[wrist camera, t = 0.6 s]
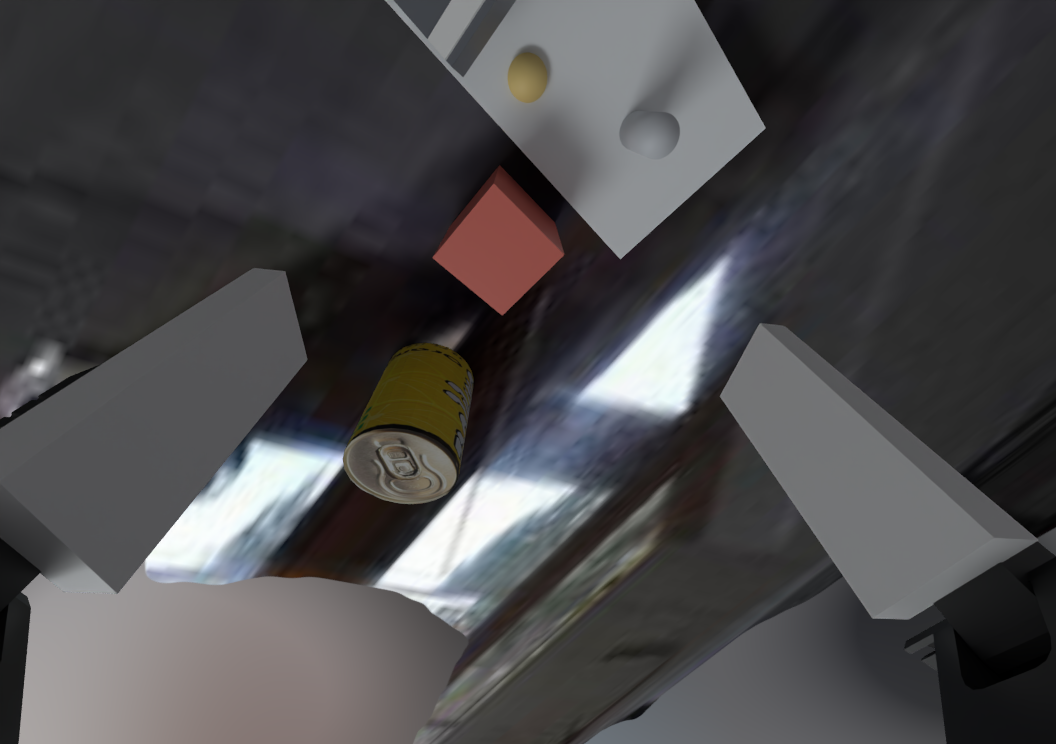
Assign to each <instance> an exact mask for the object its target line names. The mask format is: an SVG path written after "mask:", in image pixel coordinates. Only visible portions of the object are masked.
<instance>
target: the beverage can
mask: <svg viewBox="0 0 1056 744" xmlns="http://www.w3.org/2000/svg"><path fill="white" fill-rule="evenodd" d="M473 381H474V379H473V375H472V371H471V369H470V367H469V366H468V364H467V362H466V361H465V360H464V359H463V358H462V357H461V356H460V355H459V354H457V353H456V352H454V351H452V350H451V349H449V348H447V347H444V346H441V345H438V344H431V343H418V344H412V345H409V346H406V347H404V348H402V349H401V350H399V351H398V352H397V353H395V354H394V356H393V357H392V358H391V360H390V361H389V363H388V365H387V367H386V369H385V371H384V373H383V375H382V377H381V379H380V381H379V383H378V385H377V387H376V389H375V391H374V393H373V395H372V397H371V399H370V401H369V403H368V405H367V407H366V409H365V411H364V413H363V415H362V417H361V419H360V421H359V423H358V425H357V427H356V429H355V431H354V433H353V435H352V437H351V439H350V441H349V443H348V445H347V447H346V449H345V452H344V456H343V463H344V468H345V471H346V472H347V474H348V476H349V478H350V479H351V480H352V481H353V482H354V483H355V484H356V485H357V486H358V487H359V488H361V489H362V490H364V491H366V492H367V493H369V494H370V495H373V496H375V497H378V498H380V499H383V500H387V501H391V502H395V503H405V504H417V503H426V502H429V501H433V500H437V499H438V498H440V497H442V496H444V495H446V494H447V493H448V492H449V491H450V490H451V489H453V488H454V486H455V484H456V482H457V480H458V477H459V471H460V464H461V458H462V452H463V446H464V440H465V434H466V428H467V421H468V415H469V409H470V403H471V397H472V391H473Z"/></svg>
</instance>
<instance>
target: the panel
mask: <svg viewBox="0 0 1056 744" xmlns="http://www.w3.org/2000/svg"><path fill="white" fill-rule="evenodd" d="M385 1H386V2H387V3H388V4H389V5H390V6H391V7H392V8H393V10H394V11H395V12H396V13H397V14H398V15H399V16H400V17H401V18H402V19H403V21H404V22H405V23H406V24H407V25H408V26H409V27H410V28H411V29H412V30H413V32H414V33H415V34H416V35H417V36H418V37H419V38H420V39H421V40H422V41H423V43H424V44H425V45H426V46H427V47H428V48H429V49H430V50H431V51H432V52H433V54H434V55H435V56H436V57H437V58H438V59H439V60H440V61H441V62H442V63H443V65H444V66H445V67H446V68H447V69H448V70H449V71H450V72H451V73H452V74H453V76H454V77H455V78H456V79H457V80H458V81H459V82H460V83H461V84H462V86H463V87H464V88H465V89H466V90H467V91H468V92H469V93H470V94H471V95H472V97H473V98H474V99H475V100H476V101H477V102H478V103H479V104H480V105H481V106H482V108H483V109H484V110H485V111H486V112H487V113H488V114H489V115H490V116H491V117H492V119H493V120H494V121H495V122H496V123H497V124H498V125H499V126H500V127H501V128H502V130H503V131H504V132H505V133H506V134H507V135H508V136H509V137H510V138H511V139H512V141H513V142H514V143H515V144H516V145H517V146H518V147H519V148H520V149H521V150H522V152H523V153H524V154H525V155H526V156H527V157H528V158H529V159H530V160H531V161H532V163H533V164H534V165H535V166H536V167H537V168H538V169H539V170H540V171H541V172H542V174H543V175H544V176H545V177H546V178H547V179H548V180H549V181H550V182H551V184H552V185H553V186H554V187H555V188H556V189H557V190H558V191H559V192H560V193H561V195H562V196H563V197H564V198H565V199H566V200H567V201H568V202H569V203H570V204H571V206H572V207H573V208H574V209H575V210H576V211H577V212H578V213H579V214H580V215H581V217H582V218H583V219H584V220H585V221H586V222H587V223H588V224H589V225H590V226H591V228H592V229H593V230H594V231H595V232H596V233H597V234H598V235H599V236H600V237H601V239H602V240H603V241H604V242H605V243H606V244H607V245H608V246H609V247H610V248H611V250H612V251H613V252H614V253H615V254H616V255H617V256H618V257H619V258H620V259H621V258H622V257H623V256H624V255H626V254H627V253H628V252H629V251H630V250H631V249H632V248H633V247H634V246H636V245H637V244H638V243H639V242H640V241H641V240H642V239H643V238H644V237H645V236H647V235H648V234H649V233H650V232H651V231H652V230H653V229H654V228H655V227H657V226H658V225H659V224H660V223H661V222H662V221H663V220H664V219H665V218H667V217H668V216H669V215H670V214H671V213H672V212H673V211H674V210H675V209H677V208H678V207H679V206H680V205H681V204H682V203H683V202H684V201H685V200H687V199H688V198H689V197H690V196H691V195H692V194H693V193H694V192H695V191H697V190H698V189H699V188H700V187H701V186H702V185H703V184H704V183H705V182H707V181H708V180H709V179H710V178H711V177H712V176H713V175H714V174H715V173H716V172H718V171H719V170H720V169H721V168H722V167H723V166H724V165H725V164H726V163H728V162H729V161H730V160H731V159H732V158H733V157H734V156H735V155H736V154H738V153H739V152H740V151H741V150H742V149H743V148H744V147H745V146H746V145H748V144H749V143H750V142H751V141H752V140H753V139H754V138H755V137H756V136H758V135H759V134H760V133H761V132H762V131H763V130H764V129H765V126H764V124H763V122H762V121H761V119H760V117H759V115H758V113H757V112H756V110H755V108H754V106H753V104H752V103H751V101H750V99H749V97H748V96H747V94H746V92H745V90H744V88H743V87H742V85H741V83H740V81H739V79H738V78H737V76H736V74H735V72H734V70H733V69H732V67H731V65H730V63H729V61H728V60H727V58H726V56H725V54H724V52H723V51H722V49H721V47H720V45H719V43H718V42H717V40H716V38H715V36H714V34H713V33H712V31H711V29H710V27H709V26H708V24H707V22H706V20H705V18H704V17H703V15H702V13H701V11H700V9H699V8H698V6H697V4H696V2H695V0H516V1H515V3H514V4H513V6H512V7H511V9H510V10H509V11H508V13H507V14H506V16H505V17H504V19H503V20H502V22H501V23H500V25H499V26H498V28H497V29H496V30H495V32H494V33H493V35H492V36H491V38H490V39H489V41H488V42H487V44H486V45H485V47H484V48H483V49H482V51H481V52H480V54H479V55H478V57H477V58H476V60H475V61H474V63H473V64H472V65H471V67H470V68H469V70H468V71H467V73H466V74H465V76H464V77H462V76H461V75H460V74H459V73H458V72H457V71H456V70H454V69H453V68H452V67H451V66H450V64H449V63H448V62H447V61H446V60H445V59H444V58H443V57H442V56H441V54H440V53H439V52H438V51H437V50H436V49H435V48H434V46H433V45H432V44H431V43H430V42H429V41H428V40H427V38H426V37H425V36H424V35H423V34H422V32H421V31H420V30H419V29H418V28H417V27H416V25H415V24H414V23H413V22H412V21H411V20H410V19H409V17H408V16H407V15H406V14H405V13H404V12H403V11H402V9H401V8H400V7H399V6H398V5H397V4H396V3H395V1H394V0H385Z"/></svg>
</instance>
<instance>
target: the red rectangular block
mask: <svg viewBox="0 0 1056 744" xmlns="http://www.w3.org/2000/svg"><path fill="white" fill-rule="evenodd" d="M563 256H564V252H563V248H562V245H561V242H560V238H559V235H558V231H557V228H556V225H555V222H554V221H553V220H552V219H551V218H550V217H549V216H548V215H547V214H546V213H545V212H544V211H543V210H542V209H541V208H540V207H539V205H538V204H537V203H536V202H535V201H534V200H533V199H532V198H531V197H530V196H529V195H528V194H527V193H526V192H525V191H524V190H523V189H522V188H521V187H520V186H519V185H518V184H517V182H516V181H515V180H514V179H513V178H512V177H511V176H510V175H509V174H508V173H507V172H506V171H505V170H504V169H503V168H502V167H501V166H500V165H499V166H498V168H497V169H496V170H495V171H494V173H493V174H492V175H491V176H490V177H489V179H488V180H487V181H486V182H485V184H484V185H483V186H482V187H481V189H480V190H479V191H478V192H477V194H476V195H475V196H474V197H473V198H472V200H471V201H470V202H469V203H468V205H467V206H466V207H465V208H464V210H463V211H462V212H461V213H460V214H459V216H458V217H457V218H456V219H455V221H454V222H453V223H452V224H451V226H450V227H449V229H448V231H447V233H446V235H445V236H444V238H443V240H442V242H441V243H440V245H439V247H438V249H437V251H436V252H435V254H434V256H433V259H434V260H436V261H437V262H438V263H439V264H440V265H442V266H443V267H444V268H445V269H446V270H448V271H449V272H450V273H451V274H453V275H454V276H455V277H456V278H457V279H459V280H460V281H461V282H462V283H463V284H465V285H466V286H467V287H468V288H469V289H471V290H472V291H473V292H474V293H475V294H477V295H478V296H479V297H480V298H481V299H483V300H484V301H485V302H486V303H488V304H489V305H490V306H491V307H492V308H494V309H495V310H496V311H497V312H498V313H500V314H501V315H503V314H504V313H506V312H507V311H508V310H509V309H510V308H511V307H512V306H513V305H514V304H515V303H516V302H517V301H518V300H519V299H520V298H521V297H522V296H523V295H524V294H525V293H526V292H527V291H528V290H529V289H530V288H531V287H532V286H533V285H534V284H535V283H536V282H537V281H538V280H539V279H540V278H541V277H542V276H543V275H544V274H545V273H546V272H547V271H548V270H549V269H550V268H551V267H552V266H553V265H554V264H555V263H556V262H557V261H558V260H559V259H560V258H561V257H563Z"/></svg>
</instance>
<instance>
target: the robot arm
mask: <svg viewBox="0 0 1056 744" xmlns="http://www.w3.org/2000/svg"><path fill="white" fill-rule="evenodd" d="M306 361H307V356H306V352H305V348H304V344H303V340H302V336H301V332H300V328H299V325H298V321H297V317H296V313H295V309H294V305H293V301H292V297H291V293H290V289H289V285H288V281H287V277H286V273H285V271H276V270H267V269H258V268H253V269H251V270H250V271H248V272H247V273H245V274H243V275H242V276H240V277H239V278H237V279H236V280H234V281H232V282H231V283H229V284H228V285H226V286H225V287H223V288H221V289H220V290H218V291H217V292H215V293H214V294H212V295H210V296H209V297H207V298H206V299H204V300H202V301H201V302H199V303H198V304H196V305H195V306H193V307H191V308H190V309H188V310H187V311H185V312H184V313H182V314H180V315H179V316H177V317H176V318H174V319H172V320H171V321H169V322H168V323H166V324H165V325H163V326H161V327H160V328H158V329H157V330H155V331H154V332H152V333H150V334H149V335H147V336H146V337H144V338H143V339H141V340H139V341H138V342H136V343H135V344H133V345H131V346H130V347H128V348H127V349H125V350H124V351H122V352H120V353H119V354H117V355H116V356H114V357H113V358H111V359H109V360H108V361H106V362H105V363H103V364H101V365H98V366H95V367H93V368H90V369H88V370H85V371H83V372H80V373H78V374H75V375H73V376H70V377H68V378H67V379H65V380H64V381H62V382H60V383H59V384H57V385H55V386H54V387H52V388H51V389H49V390H47V391H46V392H44V393H42V394H41V395H39V396H38V397H39V399H38V400H31V401H29V402H28V403H26V404H25V405H23V406H21V407H20V408H18V409H16V410H15V411H13V412H12V415H11V417H3V418H2V419H0V744H18V741H19V731H20V720H21V710H22V698H23V688H24V677H25V676H24V675H25V666H26V655H27V644H28V633H29V623H30V610H31V607H30V604H29V601H28V598H27V596H25V595H24V594H23V593H21V591H22V590H23V589H24V588H25V587H26V586H27V585H28V584H29V583H30V582H31V581H32V580H33V579H34V578H35V577H36V576H37V575H38V574H39V573H41V574H42V575H43V576H45V577H46V578H47V579H48V580H49V581H51V582H52V583H53V584H54V585H56V586H57V587H58V588H59V589H61V590H62V591H63V592H77V593H78V592H79V593H107V594H117V593H118V592H119V591H120V590H121V589H122V588H123V586H124V585H125V584H126V583H127V581H128V580H129V579H130V578H131V576H132V575H133V574H134V573H135V571H136V570H137V569H138V568H139V567H140V565H141V564H142V563H143V562H144V560H145V559H146V558H147V557H148V556H149V554H150V553H151V552H152V551H153V549H154V548H155V547H156V546H157V544H158V543H159V542H160V541H161V539H162V538H163V537H164V536H165V535H166V533H167V532H168V531H169V530H170V528H171V527H172V526H173V525H174V523H175V522H176V521H177V520H178V519H179V517H180V516H181V515H182V514H183V512H184V511H185V510H186V509H187V507H188V506H189V505H190V504H191V503H192V501H193V500H194V499H195V498H196V496H197V495H198V494H199V493H200V491H201V490H202V489H203V488H204V486H205V485H206V484H207V483H208V482H209V480H210V479H211V478H212V477H213V475H214V474H215V473H216V472H217V470H218V469H219V468H220V467H221V466H222V464H223V463H224V462H225V461H226V459H227V458H228V457H229V456H230V454H231V453H232V452H233V451H234V450H235V448H236V447H237V446H238V445H239V443H240V442H241V441H242V440H243V438H244V437H245V436H246V435H247V433H248V432H249V431H250V430H251V429H252V427H253V426H254V425H255V424H256V422H257V421H258V420H259V419H260V417H261V416H262V415H263V414H264V413H265V411H266V410H267V409H268V408H269V406H270V405H271V404H272V403H273V401H274V400H275V399H276V398H277V397H278V395H279V394H280V393H281V392H282V390H283V389H284V388H285V387H286V385H287V384H288V383H289V382H290V380H291V379H292V378H293V377H294V376H295V374H296V373H297V372H298V371H299V369H300V368H301V367H302V366H303V364H304V363H305V362H306ZM720 397H721V399H722V400H723V401H724V403H725V404H726V406H727V407H728V409H729V410H730V412H731V413H732V415H733V416H734V417H735V419H736V420H737V422H738V423H739V425H740V426H741V428H742V429H743V431H744V432H745V433H746V435H747V436H748V438H749V439H750V441H751V442H752V444H753V445H754V447H755V448H756V450H757V451H758V452H759V454H760V455H761V457H762V458H763V460H764V461H765V463H766V464H767V466H768V467H769V468H770V470H771V471H772V473H773V474H774V476H775V477H776V479H777V480H778V482H779V483H780V484H781V486H782V487H783V489H784V490H785V492H786V493H787V495H788V496H789V498H790V499H791V500H792V502H793V503H794V505H795V506H796V508H797V509H798V511H799V512H800V514H801V515H802V517H803V518H804V519H805V521H806V522H807V524H808V525H809V527H810V528H811V530H812V531H813V533H814V534H815V535H816V537H817V538H818V540H819V541H820V543H821V544H822V546H823V547H824V549H825V550H826V551H827V553H828V554H829V556H830V557H831V559H832V560H833V562H834V563H835V565H836V566H837V567H838V569H839V570H840V572H841V573H842V575H843V576H844V578H845V579H846V581H847V582H848V583H849V585H850V586H851V588H852V589H853V591H854V592H855V594H856V595H857V596H858V598H859V599H860V601H861V602H862V604H863V605H864V607H865V608H866V610H867V611H868V613H869V614H870V615H871V617H872V618H879V619H881V618H882V619H910V618H912V617H913V616H915V615H917V614H918V613H920V612H922V611H923V610H925V609H927V608H928V607H930V606H931V605H933V604H934V605H935V606H936V607H937V608H938V610H939V611H940V612H941V613H942V614H943V615H944V617H945V618H946V619H944V620H943V621H941V622H939V623H937V624H935V625H934V626H932V627H930V628H928V629H927V630H925V631H923V632H921V633H920V634H918V635H916V636H914V637H913V638H911V639H909V640H907V641H906V643H905V647H904V650H905V651H907V652H908V653H910V654H912V653H914V652H916V651H918V650H920V649H922V648H924V647H925V646H929V647H932V648H935V651H933V652H932V653H929V654H928V655H926V656H924V657H923V658H922V659H921V661H922V662H924V663H925V664H927V665H929V666H930V667H932V668H934V669H935V670H936V671H938V677H939V685H940V694H941V702H942V710H943V718H944V726H945V734H946V742H947V744H1056V556H1055V555H1054V554H1052V553H1051V552H1050V551H1048V550H1047V549H1046V548H1044V547H1043V546H1042V545H1041V544H1040V543H1039V542H1037V541H1038V539H1037V538H1036V537H1034V536H1033V535H1032V534H1031V533H1030V532H1028V531H1027V530H1026V529H1025V528H1024V527H1022V526H1021V525H1020V524H1019V523H1018V522H1017V521H1015V520H1014V519H1013V518H1012V517H1011V516H1009V515H1008V514H1007V513H1006V512H1005V511H1003V510H1002V509H1001V508H1000V507H999V506H998V505H996V504H995V503H994V502H993V501H992V500H990V499H989V498H988V497H987V496H986V495H984V494H983V493H982V492H981V491H980V490H979V489H977V488H976V487H975V486H974V485H973V484H971V483H970V482H969V481H968V480H967V479H965V478H964V477H963V476H962V475H961V474H960V473H958V472H957V471H956V470H955V469H954V468H952V467H951V466H950V465H949V464H948V463H946V462H945V461H944V460H943V459H942V458H941V457H939V456H938V455H937V454H936V453H935V452H933V451H932V450H931V449H930V448H929V447H927V446H926V445H925V444H924V443H923V442H922V441H920V440H919V439H918V438H917V437H916V436H914V435H913V434H912V433H911V432H910V431H908V430H907V429H906V428H905V427H904V426H903V425H901V424H900V423H899V422H898V421H897V420H895V419H894V418H893V417H892V416H891V415H889V414H888V413H887V412H886V411H885V410H884V409H882V408H881V407H880V406H879V405H878V404H876V403H875V402H874V401H873V400H872V399H870V398H869V397H868V396H867V395H866V394H865V393H863V392H862V391H861V390H860V389H859V388H857V387H856V386H855V385H854V384H853V383H851V382H850V381H849V380H848V379H847V378H846V377H844V376H843V375H842V374H841V373H840V372H838V371H837V370H836V369H835V368H834V367H832V366H831V365H830V364H829V363H828V362H827V361H825V360H824V359H823V358H822V357H821V356H819V355H818V354H817V353H816V352H815V351H813V350H812V349H811V348H810V347H809V346H808V345H806V344H805V343H804V342H803V341H802V340H800V339H799V338H798V337H797V336H796V335H794V334H793V333H792V332H791V331H790V330H789V329H787V328H786V327H785V326H780V325H771V324H762V323H760V324H759V326H758V327H757V329H756V331H755V333H754V335H753V337H752V338H751V340H750V342H749V344H748V346H747V348H746V349H745V351H744V353H743V355H742V357H741V359H740V360H739V362H738V364H737V366H736V368H735V370H734V372H733V373H732V375H731V377H730V379H729V381H728V383H727V384H726V386H725V388H724V390H723V392H722V394H721V395H720Z"/></svg>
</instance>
